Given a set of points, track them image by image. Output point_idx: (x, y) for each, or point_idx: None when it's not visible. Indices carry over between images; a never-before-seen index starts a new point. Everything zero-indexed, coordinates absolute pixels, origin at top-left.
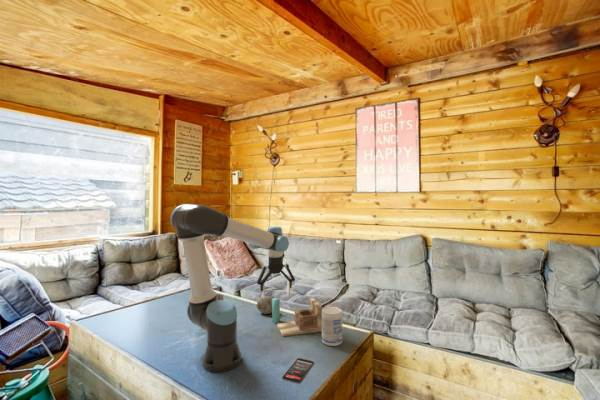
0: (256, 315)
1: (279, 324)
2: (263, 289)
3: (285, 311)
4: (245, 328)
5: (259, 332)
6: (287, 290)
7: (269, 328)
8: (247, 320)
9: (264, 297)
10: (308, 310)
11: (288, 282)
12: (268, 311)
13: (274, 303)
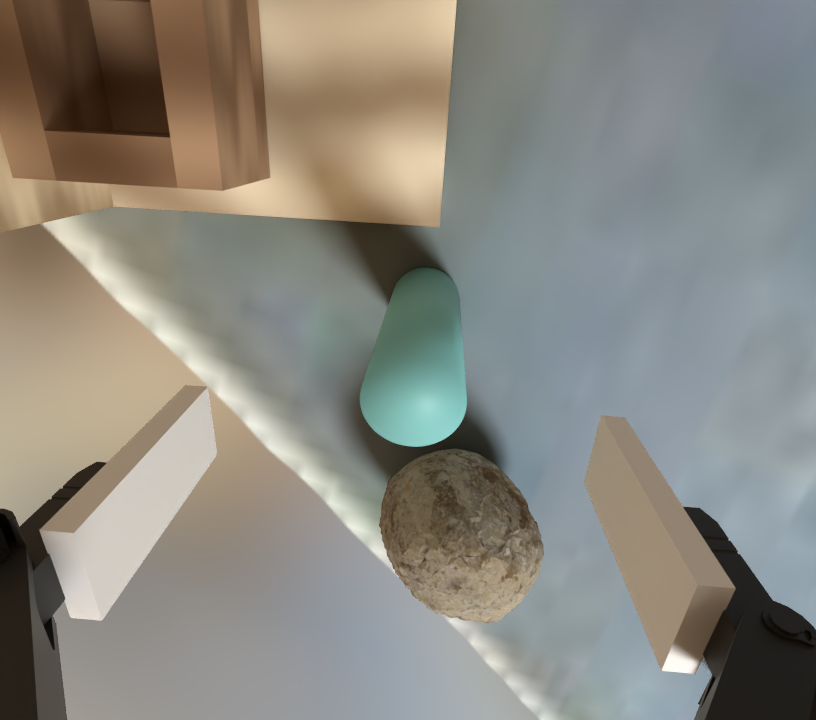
0: (542, 467)
1: (424, 193)
2: (684, 514)
3: (300, 454)
4: (728, 266)
5: (647, 129)
6: (196, 478)
7: (526, 183)
8: (645, 409)
9: (609, 418)
10: (47, 136)
11: (73, 552)
12: (454, 450)
13: (447, 347)
